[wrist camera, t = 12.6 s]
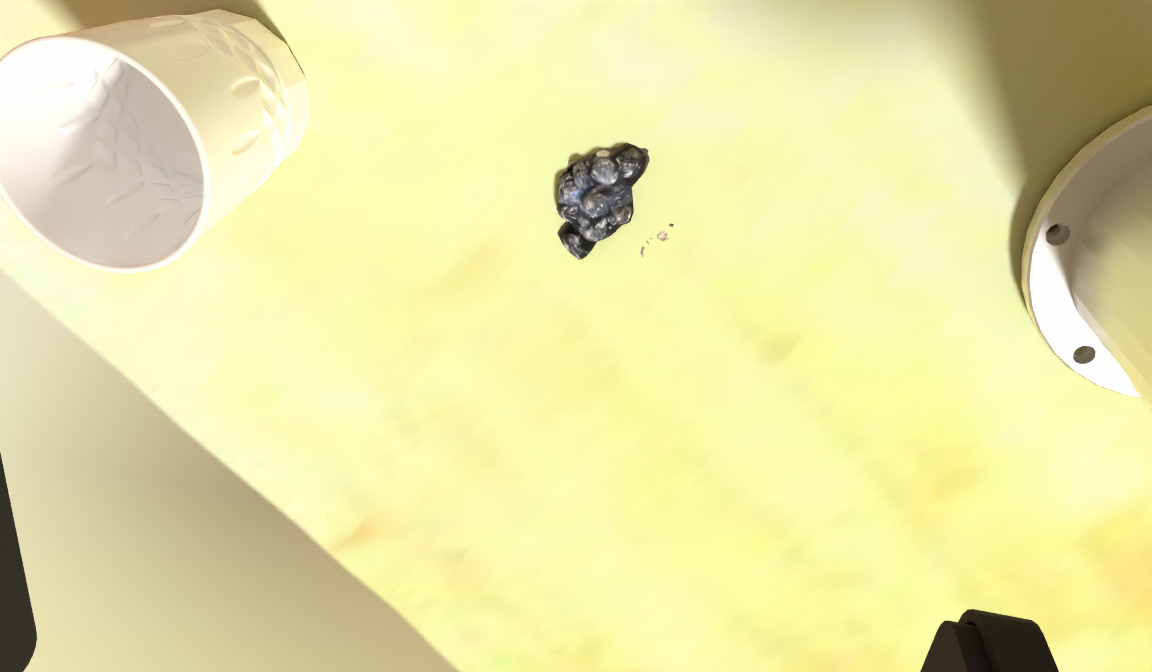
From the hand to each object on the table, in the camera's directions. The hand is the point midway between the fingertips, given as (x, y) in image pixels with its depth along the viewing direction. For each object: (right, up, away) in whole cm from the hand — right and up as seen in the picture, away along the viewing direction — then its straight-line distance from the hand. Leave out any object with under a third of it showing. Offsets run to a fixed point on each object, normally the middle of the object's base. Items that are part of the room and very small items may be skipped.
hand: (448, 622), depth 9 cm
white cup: (-13, +13, +30) cm, 35 cm away
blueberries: (+3, +8, +30) cm, 32 cm away
